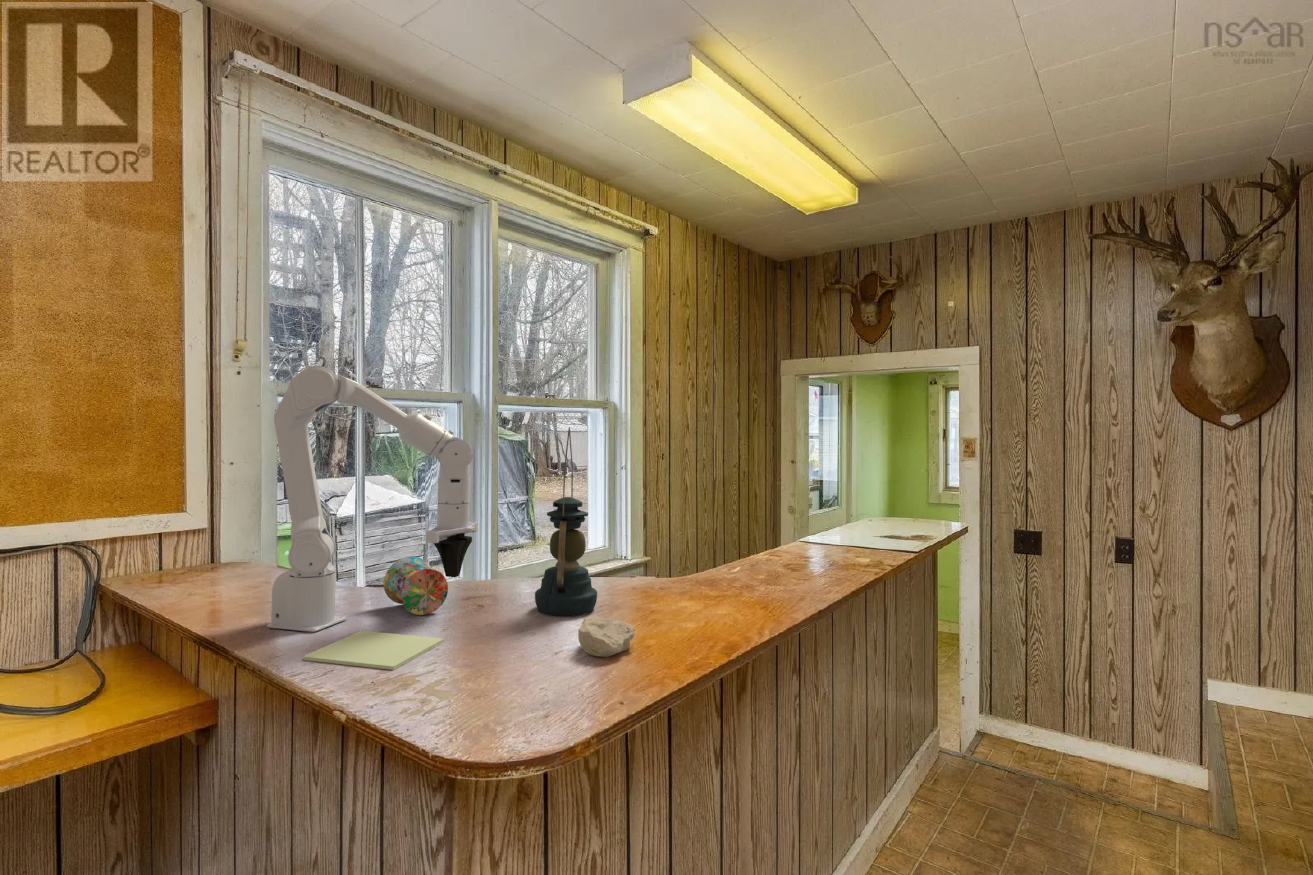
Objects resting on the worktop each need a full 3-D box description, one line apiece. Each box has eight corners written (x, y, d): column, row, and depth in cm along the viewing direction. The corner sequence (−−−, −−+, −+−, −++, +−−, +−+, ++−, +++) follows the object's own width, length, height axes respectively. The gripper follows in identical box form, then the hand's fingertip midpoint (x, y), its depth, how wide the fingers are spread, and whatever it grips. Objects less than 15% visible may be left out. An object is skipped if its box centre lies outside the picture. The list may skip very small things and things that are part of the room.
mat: (302, 659, 94) (302, 656, 94) (362, 633, 107) (362, 630, 107) (393, 670, 91) (393, 666, 91) (444, 641, 103) (444, 638, 103)
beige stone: (641, 623, 106) (630, 614, 97) (633, 665, 103) (621, 660, 94) (590, 614, 108) (574, 605, 98) (581, 655, 105) (564, 649, 96)
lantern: (592, 620, 117) (596, 427, 117) (527, 619, 117) (530, 425, 117) (600, 600, 131) (603, 428, 131) (542, 599, 131) (545, 427, 131)
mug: (422, 558, 117) (403, 547, 125) (389, 604, 113) (372, 589, 122) (472, 589, 123) (451, 577, 131) (443, 634, 120) (423, 618, 128)
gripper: (452, 507, 112) (450, 586, 112) (492, 500, 126) (490, 569, 126) (416, 505, 113) (414, 583, 113) (459, 498, 127) (457, 567, 127)
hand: (452, 576), depth 120 cm, fingers closed
